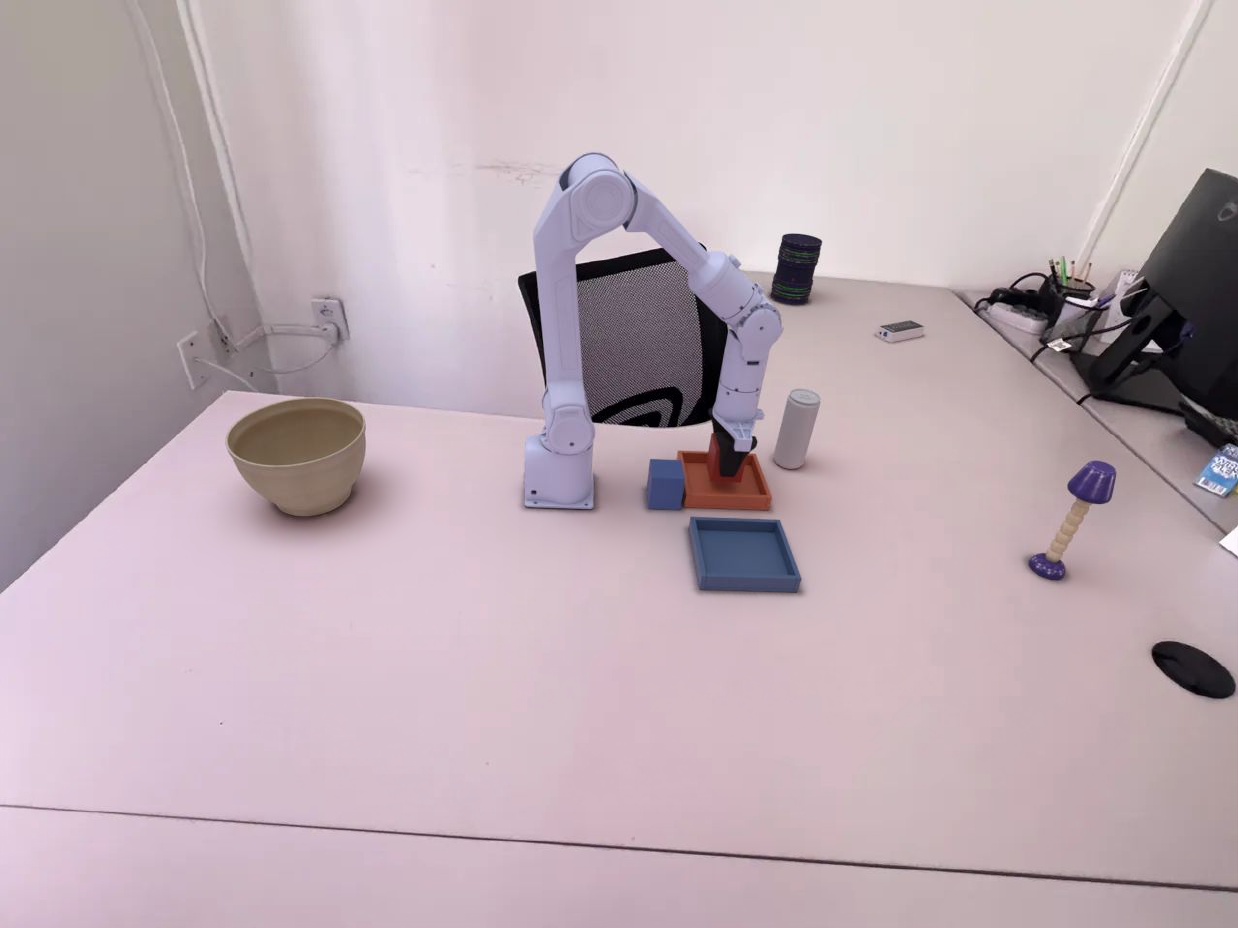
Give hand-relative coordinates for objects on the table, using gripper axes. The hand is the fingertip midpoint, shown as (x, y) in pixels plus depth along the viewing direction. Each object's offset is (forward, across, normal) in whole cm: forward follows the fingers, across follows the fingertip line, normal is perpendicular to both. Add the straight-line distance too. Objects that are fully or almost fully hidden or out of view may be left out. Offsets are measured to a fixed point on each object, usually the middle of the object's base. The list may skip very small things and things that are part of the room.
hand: (724, 465), depth 95 cm
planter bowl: (+4, -6, +57) cm, 57 cm away
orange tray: (+4, 0, 0) cm, 4 cm away
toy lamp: (+4, -16, -41) cm, 44 cm away
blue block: (+4, -4, +9) cm, 10 cm away
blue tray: (+4, -16, 0) cm, 16 cm away
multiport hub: (+4, +61, -52) cm, 80 cm away
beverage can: (+4, +7, -12) cm, 14 cm away
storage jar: (+4, +82, -31) cm, 88 cm away
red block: (+1, 0, 0) cm, 1 cm away
